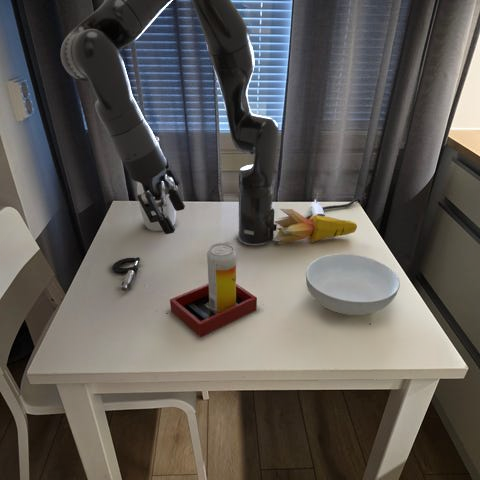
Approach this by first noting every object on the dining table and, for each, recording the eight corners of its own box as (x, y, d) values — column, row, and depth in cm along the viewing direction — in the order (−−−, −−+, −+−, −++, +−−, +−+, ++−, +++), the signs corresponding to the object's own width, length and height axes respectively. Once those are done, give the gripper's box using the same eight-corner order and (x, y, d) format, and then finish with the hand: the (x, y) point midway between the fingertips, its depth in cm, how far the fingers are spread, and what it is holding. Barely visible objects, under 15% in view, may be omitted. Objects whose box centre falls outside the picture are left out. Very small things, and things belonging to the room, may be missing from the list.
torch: (350, 249, 133) (269, 246, 127) (345, 227, 136) (266, 223, 130) (363, 233, 125) (277, 229, 120) (357, 210, 129) (273, 205, 123)
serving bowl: (409, 322, 99) (417, 297, 95) (318, 332, 96) (321, 306, 92) (372, 273, 115) (377, 249, 111) (293, 280, 112) (295, 256, 108)
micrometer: (116, 260, 120) (115, 252, 118) (143, 261, 120) (141, 253, 118) (99, 292, 108) (97, 283, 106) (129, 293, 108) (127, 284, 106)
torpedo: (329, 232, 134) (332, 211, 130) (313, 231, 134) (316, 211, 130) (321, 207, 148) (323, 188, 144) (306, 207, 148) (308, 187, 144)
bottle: (134, 226, 136) (120, 139, 121) (159, 214, 143) (150, 130, 128) (161, 236, 131) (151, 146, 116) (186, 222, 138) (179, 136, 123)
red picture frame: (225, 288, 109) (225, 276, 107) (256, 310, 102) (257, 297, 100) (171, 312, 102) (169, 299, 99) (200, 337, 94) (199, 324, 92)
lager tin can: (241, 306, 103) (241, 248, 94) (222, 318, 100) (221, 259, 91) (222, 296, 107) (221, 239, 97) (204, 307, 103) (200, 249, 94)
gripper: (144, 163, 78) (183, 237, 88) (165, 127, 87) (199, 198, 98) (108, 173, 80) (150, 244, 91) (133, 137, 90) (169, 205, 101)
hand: (175, 220), depth 94 cm, fingers open, 8 cm apart
